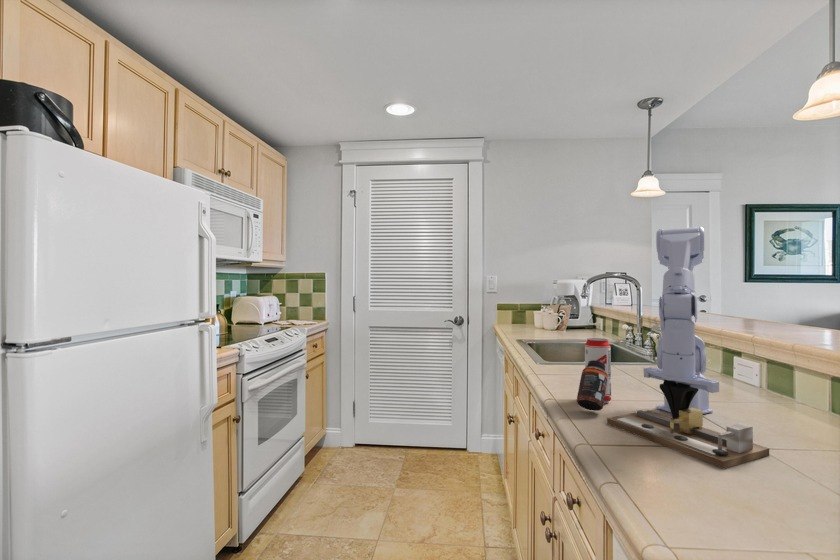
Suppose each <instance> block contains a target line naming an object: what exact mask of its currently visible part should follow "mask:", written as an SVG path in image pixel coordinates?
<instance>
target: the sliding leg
mask: <svg viewBox="0 0 840 560" xmlns="http://www.w3.org/2000/svg"><path fill="white" fill-rule="evenodd" d="M703 415H704V414H703V413H702V410H699V409H696V408H688V409H683V410H679V417H677V418H673V417H672V419H670V433H674V423H675V422H679V425H680V431H682V432H685V433H688V434H693V428H697V429H701V430H702V427H703V425H704V424H703V422H704V421H703V417H704V416H703Z"/></svg>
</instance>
